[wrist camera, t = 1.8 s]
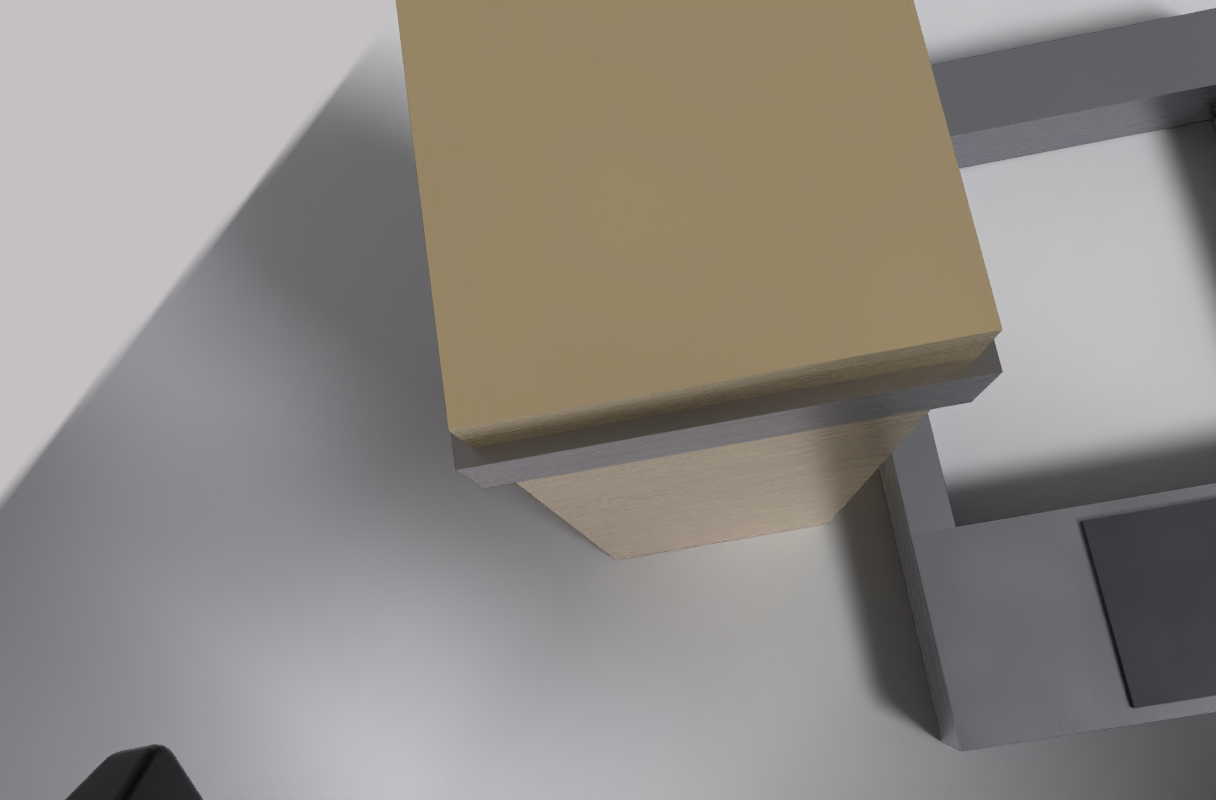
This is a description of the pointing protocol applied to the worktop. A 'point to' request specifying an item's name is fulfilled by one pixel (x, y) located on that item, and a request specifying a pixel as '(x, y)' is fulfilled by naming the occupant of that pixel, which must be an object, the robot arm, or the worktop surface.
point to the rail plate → (1078, 536)
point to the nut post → (690, 254)
